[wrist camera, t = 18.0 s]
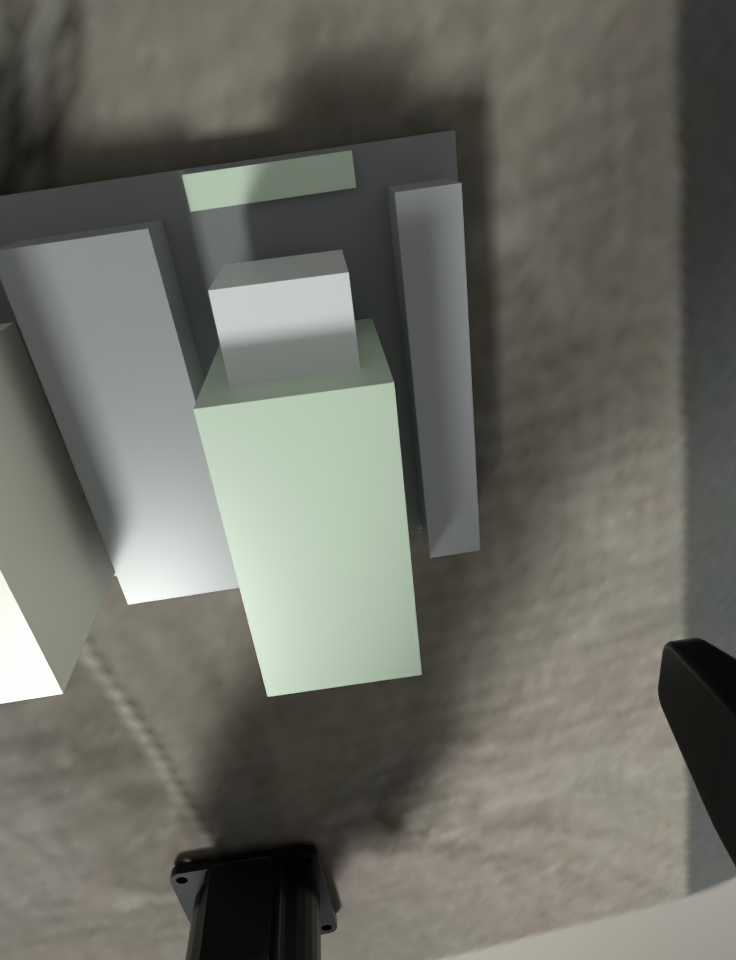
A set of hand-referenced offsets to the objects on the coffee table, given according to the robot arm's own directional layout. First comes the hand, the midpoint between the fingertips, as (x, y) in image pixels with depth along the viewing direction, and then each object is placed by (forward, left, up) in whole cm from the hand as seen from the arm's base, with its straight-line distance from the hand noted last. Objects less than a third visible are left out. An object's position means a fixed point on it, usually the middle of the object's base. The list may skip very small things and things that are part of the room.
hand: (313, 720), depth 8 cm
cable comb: (0, +5, -12) cm, 13 cm away
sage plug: (-1, 0, -11) cm, 11 cm away
